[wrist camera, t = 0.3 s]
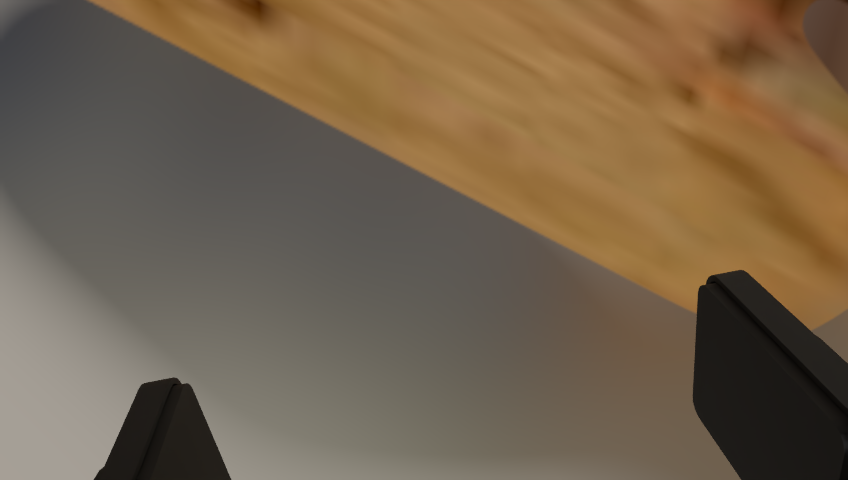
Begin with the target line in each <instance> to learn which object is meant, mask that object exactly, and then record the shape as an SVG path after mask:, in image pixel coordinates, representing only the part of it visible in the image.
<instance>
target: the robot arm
mask: <svg viewBox="0 0 848 480" xmlns="http://www.w3.org/2000/svg"><path fill="white" fill-rule="evenodd" d="M693 403H694V406H695V410H696V412H697V415H698V416H699V418H700V420H701V421H702V423H703V424H704V426H705V427H706V428H707V430H708V431H709V433H710V434H711V436H712V437H713V439H714V440H715V442H716V443H717V445H718V446H719V447H720V449H721V450H722V452H723V453H724V455H725V456H726V458H727V459H728V461H729V462H730V464H731V465H732V467H733V468H734V470H735V471H736V472H737V474H738V475H739V477H740V478H741V480H848V363H846V362H845V361H844V360H843V359H842V358H841V357H840V356H839V355H838V354H837V353H836V352H834V351H833V350H832V349H831V348H830V347H829V346H828V345H827V344H826V343H825V342H823V340H821V339H820V338H819V337H817V336H816V335H814V334H813V333H812V332H811V331H810V330H809V329H808V328H807V327H806V326H805V325H804V324H802V323H801V322H800V321H799V320H798V319H797V318H796V317H795V316H794V315H793V314H792V313H791V312H789V311H788V310H787V309H786V308H785V307H784V306H783V305H782V304H781V303H780V302H779V301H777V300H776V299H775V298H774V297H773V296H772V295H771V294H770V293H769V292H768V291H767V290H766V289H764V288H763V287H762V286H761V285H760V284H759V283H758V282H757V281H756V280H755V279H754V278H753V277H751V276H750V275H749V274H748V273H747V272H745V271H744V270H738V271H732V272H727V273H722V274H717V275H711V276H710V277H709V278H708V279H707V282H706V285H702V286H700V288H699V291H698V304H697V325H696V343H695V363H694V383H693ZM94 480H231V478H230V476H229V474H228V471H227V469H226V466H225V464H224V462H223V459H222V457H221V454H220V452H219V450H218V447H217V445H216V443H215V441H214V438H213V436H212V434H211V431H210V429H209V426H208V424H207V422H206V419H205V417H204V415H203V412H202V410H201V408H200V405H199V403H198V400H197V398H196V396H195V393H194V391H193V389H192V387H191V386H190V385H189V384H187V383H186V384H181V382H180V381H179V380H178V379H177V378H169V379H164V380H158V381H154V382H148V383H144V384H142V385H141V386H140V388H139V390H138V392H137V394H136V397H135V399H134V401H133V403H132V405H131V408H130V410H129V412H128V415H127V417H126V419H125V421H124V424H123V426H122V428H121V430H120V432H119V435H118V437H117V439H116V442H115V444H114V446H113V448H112V450H111V453H110V455H109V457H108V459H107V462H106V464H105V466H104V467H103V468H102V469H101V470H100V471H99V472H98V474H97V475H96V477H95V478H94Z"/></svg>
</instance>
